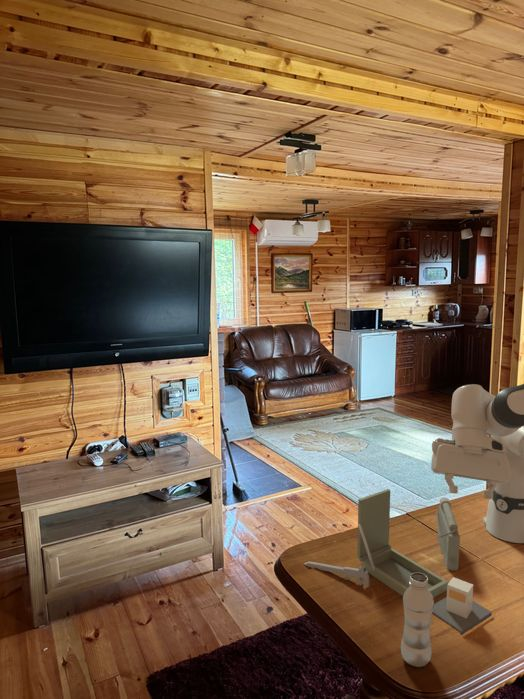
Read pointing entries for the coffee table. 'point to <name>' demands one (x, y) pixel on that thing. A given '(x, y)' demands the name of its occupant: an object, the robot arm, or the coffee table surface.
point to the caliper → (343, 571)
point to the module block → (459, 597)
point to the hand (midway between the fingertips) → (471, 495)
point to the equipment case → (387, 548)
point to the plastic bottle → (417, 621)
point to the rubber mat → (457, 621)
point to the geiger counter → (448, 535)
